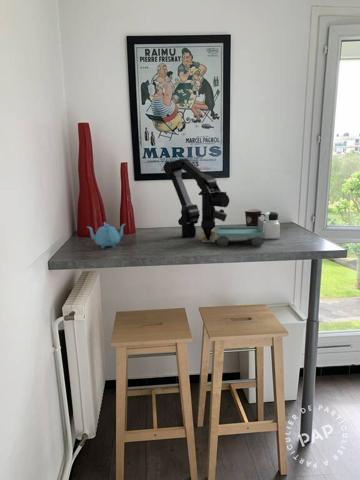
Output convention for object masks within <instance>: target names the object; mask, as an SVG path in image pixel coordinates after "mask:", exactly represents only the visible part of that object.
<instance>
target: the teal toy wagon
mask: <svg viewBox="0 0 360 480" xmlns="http://www.w3.org/2000/svg"><path fill="white" fill-rule="evenodd" d="M263 221H264V220H263V218H262V216H261V217H258V227H246V226H216V237H217V240H216V242H217V245H218V246H219V247H222V248H224V247H227V246H228V245H229V242H230V240H229V239H242V238H243V239H250V240H251V244H252V245H253V247H256V248H257V247H261V246H262V245H263V244H264V233H263Z"/></svg>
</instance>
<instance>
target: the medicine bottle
mask: <svg viewBox="0 0 360 480" xmlns="http://www.w3.org/2000/svg"><path fill="white" fill-rule="evenodd" d="M264 215H265V216H264V219H265V221H264V220H263V233H264V238H263V240H264V239H268V240H269V239H270V240H273V239H274V240H276V239H280V234H281V233H280V230H281V224H280V222H279V213H278V212H276V211H269V212H268V211H267V212H266V213H264Z"/></svg>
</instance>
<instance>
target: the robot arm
mask: <svg viewBox="0 0 360 480" xmlns="http://www.w3.org/2000/svg"><path fill="white" fill-rule="evenodd" d="M163 171H164V172H165V173H164V174H165V175H166V176H167V177H168V178H169V180H171V182H172V184H173V186H174V189H175V192H176V195H177V197H178V200H179V202H180V205H181V210H180V214H181V215H180V217H179V219H178V220H177V222H178V225H179V226H181V238H195V237H197V227H196V226H195V225H196V224H198V222H199V219H200V216H201V222H200V224H201V225H200V226H201V227H200V228H201V230H203V231H204V234H205V236H206V238H207V240H210V235H211V230H212V229H215V228H216V221H215V220H216V219H217V220H220V221H222V222H226V218H227V216H228V214H227V213H226V212H225V211H224V209H219V210H217V209H216V207H219V208H227V207H229V204H230V197H229V195H228V194H227V191H222V190H221V188H220V186H219V184H218V182H217V179H216V178H215V177H213V176H211V175H208V174H206V173H204V172H202V171H201V170H200V168H198V167H197V166H195V165H194V163H192V162H190V160H189V159H188V158H179V159H176V160H172V161H171V160H170V161H165V163H164V165H163ZM183 171H185V173H186V174H188V176H190V177H191V178H192V179H194V180H195V182H196V185H197V187H198V188H199V189H200V191H199V193H197V194H198V196H201V212H200V209H199V208H198V205H197V204H194V203H192V200H191V199H190V195H189V194H188V190H187V188H186V185H185V182H184V180H183V178H182V173H183ZM200 213H201V214H200Z"/></svg>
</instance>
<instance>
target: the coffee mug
mask: <svg viewBox="0 0 360 480" xmlns="http://www.w3.org/2000/svg"><path fill="white" fill-rule="evenodd" d="M244 216H245V225H246V226H245V227H258V217H261V218H262V216H264V217H265V213H262V210H261V209H257V208H250V209H249V208H248V209H245V210H244ZM263 221H265V218H264V220H263Z"/></svg>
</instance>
